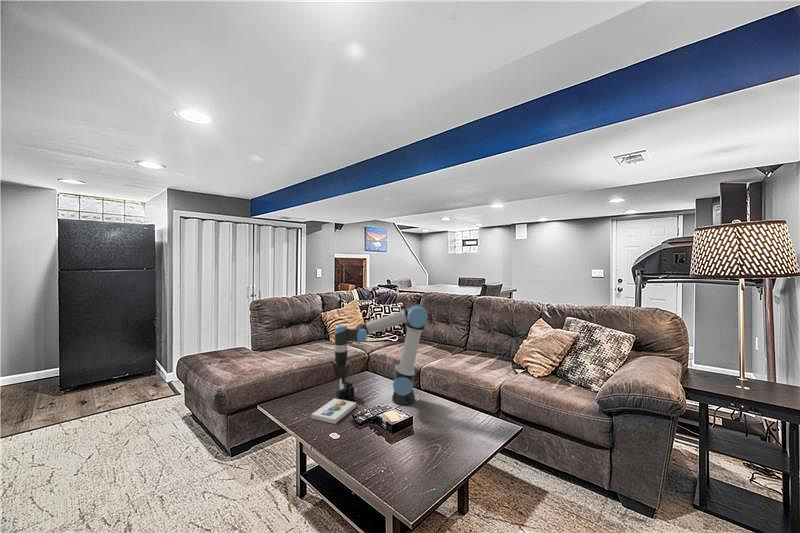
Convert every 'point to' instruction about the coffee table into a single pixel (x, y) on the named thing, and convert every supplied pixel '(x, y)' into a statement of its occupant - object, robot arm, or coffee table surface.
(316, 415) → the panel
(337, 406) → the button sage
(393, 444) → the coffee table surface
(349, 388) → the camera
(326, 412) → the button slate
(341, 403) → the button terracotta
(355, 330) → the robot arm
